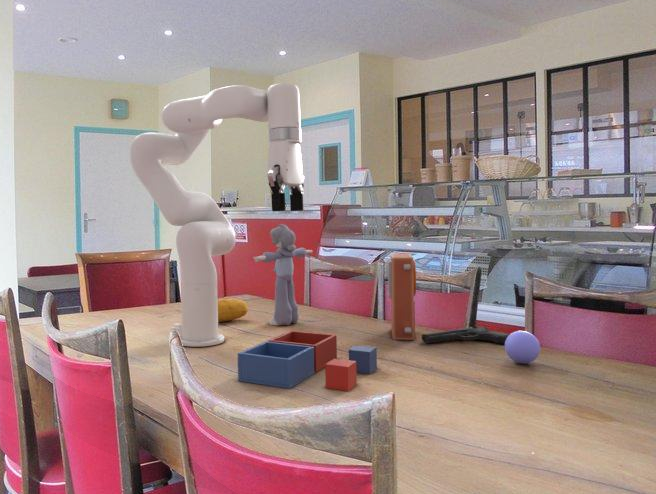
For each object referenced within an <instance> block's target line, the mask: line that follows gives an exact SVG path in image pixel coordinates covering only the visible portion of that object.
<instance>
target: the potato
mask: <svg viewBox="0 0 656 494" xmlns="http://www.w3.org/2000/svg"><path fill="white" fill-rule="evenodd" d="M248 312H249V305H248V303H246V301H244V300H241V299H235V298H220V299H218V323H224V322H231V321H235V320H238V319H240V318H242V317H245V316H246V315H247V314H248Z"/></svg>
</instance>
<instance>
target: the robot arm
mask: <svg viewBox="0 0 656 494" xmlns="http://www.w3.org/2000/svg"><path fill="white" fill-rule="evenodd" d="M300 99H301V98H300V89H299V86H298V85H296V84H295V83H291V82H279V83H274V84H272V85H269V86H268V88H267V90H266V89H262V88H261V89H260V88H258V87H253V86H250V85H243V84H236V85H235V84H234V85H229V86H224V87H219V88H215V89H212V90H211V91H210V92H208V93H207V94H206V95H201V96H195V97H190V98H183V99H178V100H174V101H171V102H169V103H167V104H166V105H165V106H164V107H163V110H162V111H161V121H162V123H163V126H165V127H166V128H167V129H168V131H171V132H174V133H175V134H168V133H162V132H150V131H149V132H142V133H139V134H138V135H136V137H134V139H133V140H132V142H131V144H130V149H129V158H130V164H131V168H132V170H133V172H134V174H135V176H136V177H137V179H138V180H139V182H140V183H141V184H142V185H143V187H144V188H145V189H146V191H147V192H148V193H149V195H150V197H151V199H152V200H153V202H154V203H155V205H156V206H157V208H158V209H159V211H160V212H161V214H162V216H163V218H164V219H165V220H166V222H167V223H168V224H170V225H172V226H175V227H180V228H179V229H178V231H177V233H176V237H175V244H176V251H177V254H178V261H179V270H180V290H181V291H180V297H181V298H180V299H181V300H180V302H181V303H180V305H181V323H173V325H172V327H171V329H170V330H171V331H172V330H176V331H178V332H179V333H178V332H177V333H178V335H179V334H180V337H181V340H182V344H183V346H182V347H189V348H190V347H193V348H198V347H199V348H202V347H210V346H216V345H220V344H222V343H224V342H225V335H224V334H221V333H219V322H218V300H219V299H218V294H219V293H218V272H217V268H216V265H215V263H214V260H213V258H212V257H219V256H223V255H227V254H229V253H230V252H231V251H232V250H233V249H234V247H235V245H236V241H237V240H236V239H237V238H236V233H235V229H234V228H233V226H232V224H231V223H230V221H229V220H228V218H227V217H226V215H225V214H224V213H223V211H222V210H221V208H220V207H219V205H218V203H217V202H216V201H215V200H214V198H212V197H211V195H209V194H207V193H206V192H203V191H191V190H187V189H185V188H184V187H183V186H182V184H181V183H180V182H179V180H178V178H177V176H176V175H175V174H174V173H173V172H172V171H171V170H169V169H168V168H167V167H166V166H164V165H168V166H179V165H182V164H185V163H186V162H187V161H188V160H189V159H190V158H191V157H192V155H193V154H194V152H195V151H196V150H197V148H198V147H199V146H200V144H201V143H202V142H203V140H204V139H205V138H206V136H207V135H208V133H209V131H210V130H213V129H217V128H218V127H219V126H220V125H221V124H222V122H223V120H227V119H233V118H234V119H238V118H239V119H244V120H250V121H254V122H259V123H266V122H268V151H267V175H266V176H267V183H268V186H269V189H270V190H269V193H270V194H271V195H270V197H271V211H272V212H286V209H287V208H286V207H287V205H286V193H285V192H284V190H285V189H286V187H288V188H289V191H290V193H291V194H289V205H290V206H289V207H290V211H291V212H302V211H304V187H305V183H304V182H305V176H304V175H303V173H304V172H303V160H302V159H303V158H302V152H301V144H302V127H301V125H302V124H301V103H300V102H301V100H300Z"/></svg>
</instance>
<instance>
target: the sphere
mask: <svg viewBox="0 0 656 494" xmlns="http://www.w3.org/2000/svg"><path fill="white" fill-rule="evenodd" d="M509 334H510V335H509V336H508V337H507V339H506V341H505V344H504V351H505V353H506V355H507V356H508V358H509V359H511V360H512V361H513V362H515V363H518V364H521V365H522V364H523V365H526V364H531V363H533V362H535V361H536V360H537V359H538V357H539V355H540V352H541V344H540V341H539V339H538V338H537V337H536V336H535V335H534V334H532V333H531V332H529V331H525V330H516V331H513V332H511V333H509Z"/></svg>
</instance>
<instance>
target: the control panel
mask: <svg viewBox="0 0 656 494" xmlns="http://www.w3.org/2000/svg"><path fill="white" fill-rule="evenodd" d="M416 269H417V267H416V261H415V260H414V257H413V256H412V254H411V253H390V258H388V259H387V294H388V298H389V299H390V309H391V310H390V311H391V312H390V313H391V315H390V316H391V317H390V318H391V335H392V339H393V340H396V341H398V340H399V341H415V334H416V314H415V313H416V309H415V307H416V306H415V305H416V303H415V296H416V295H417V270H416Z"/></svg>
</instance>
